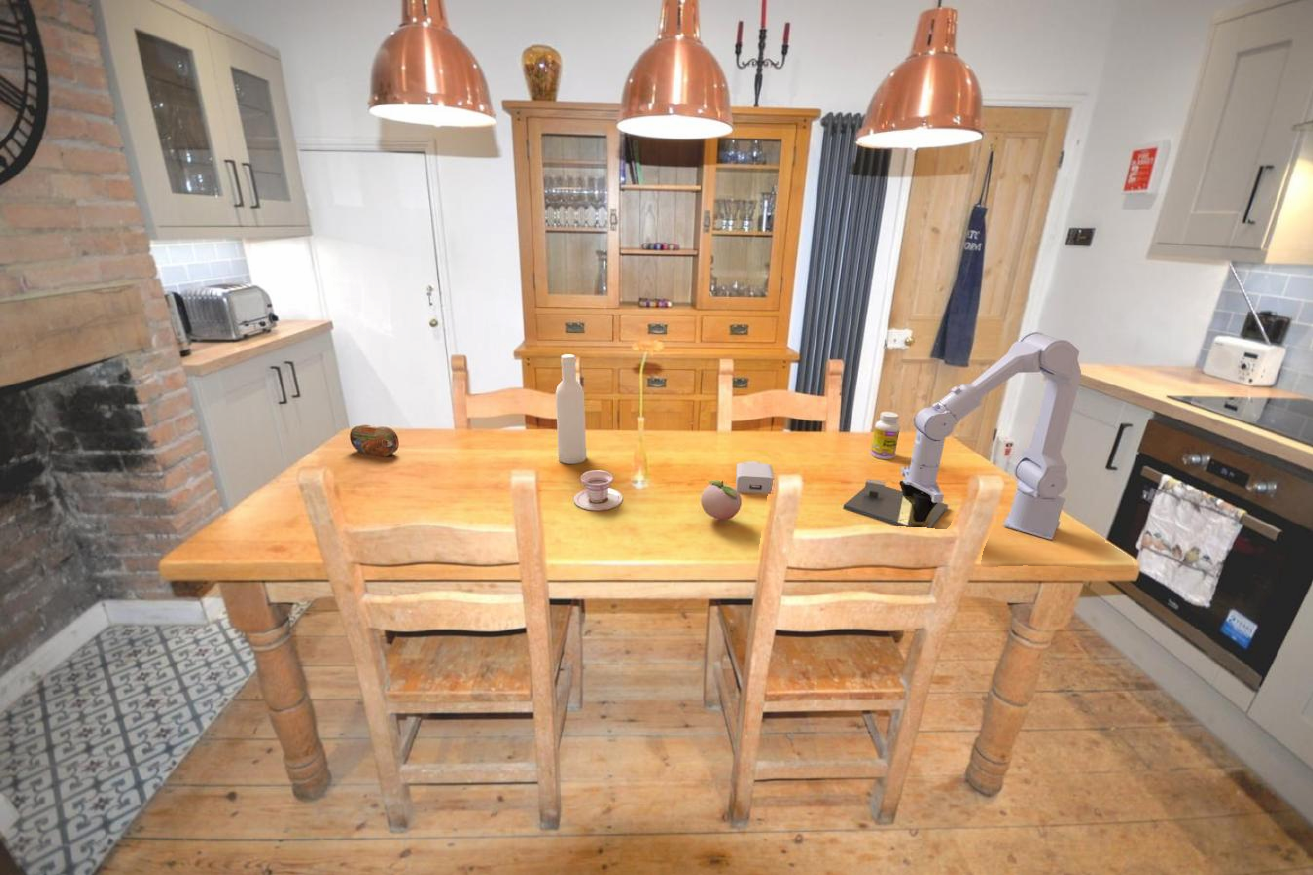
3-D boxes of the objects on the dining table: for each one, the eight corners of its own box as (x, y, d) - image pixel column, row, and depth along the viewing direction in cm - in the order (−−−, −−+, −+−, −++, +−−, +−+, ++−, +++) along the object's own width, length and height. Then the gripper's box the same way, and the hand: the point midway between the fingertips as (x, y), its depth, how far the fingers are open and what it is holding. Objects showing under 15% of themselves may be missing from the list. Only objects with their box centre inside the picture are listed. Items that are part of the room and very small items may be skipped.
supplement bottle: (879, 460, 164) (886, 418, 160) (865, 452, 170) (872, 411, 166) (899, 458, 166) (906, 417, 162) (885, 450, 172) (892, 410, 167)
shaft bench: (947, 508, 137) (951, 492, 136) (926, 535, 125) (929, 518, 124) (869, 485, 149) (872, 470, 147) (843, 508, 137) (845, 492, 135)
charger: (769, 470, 157) (773, 495, 143) (735, 468, 158) (736, 492, 144) (770, 455, 156) (775, 478, 142) (736, 453, 157) (737, 475, 143)
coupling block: (919, 514, 132) (923, 495, 130) (929, 523, 128) (933, 503, 127) (899, 515, 132) (903, 495, 130) (907, 523, 128) (911, 504, 126)
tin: (351, 452, 165) (346, 424, 162) (360, 448, 168) (355, 421, 165) (395, 458, 161) (390, 430, 158) (402, 454, 164) (398, 427, 161)
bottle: (581, 465, 158) (578, 359, 148) (554, 463, 160) (549, 358, 149) (589, 454, 166) (586, 353, 155) (563, 452, 167) (558, 351, 156)
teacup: (569, 493, 143) (568, 470, 140) (615, 486, 146) (614, 464, 144) (579, 515, 132) (578, 491, 130) (628, 507, 136) (628, 484, 134)
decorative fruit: (691, 519, 130) (693, 480, 127) (714, 508, 136) (717, 470, 132) (723, 535, 124) (726, 494, 121) (746, 522, 130) (749, 482, 126)
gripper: (892, 449, 131) (883, 502, 136) (925, 476, 118) (913, 533, 123) (921, 449, 132) (911, 501, 137) (957, 475, 118) (944, 532, 123)
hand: (914, 516), depth 130 cm, fingers closed on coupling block, 4 cm apart
